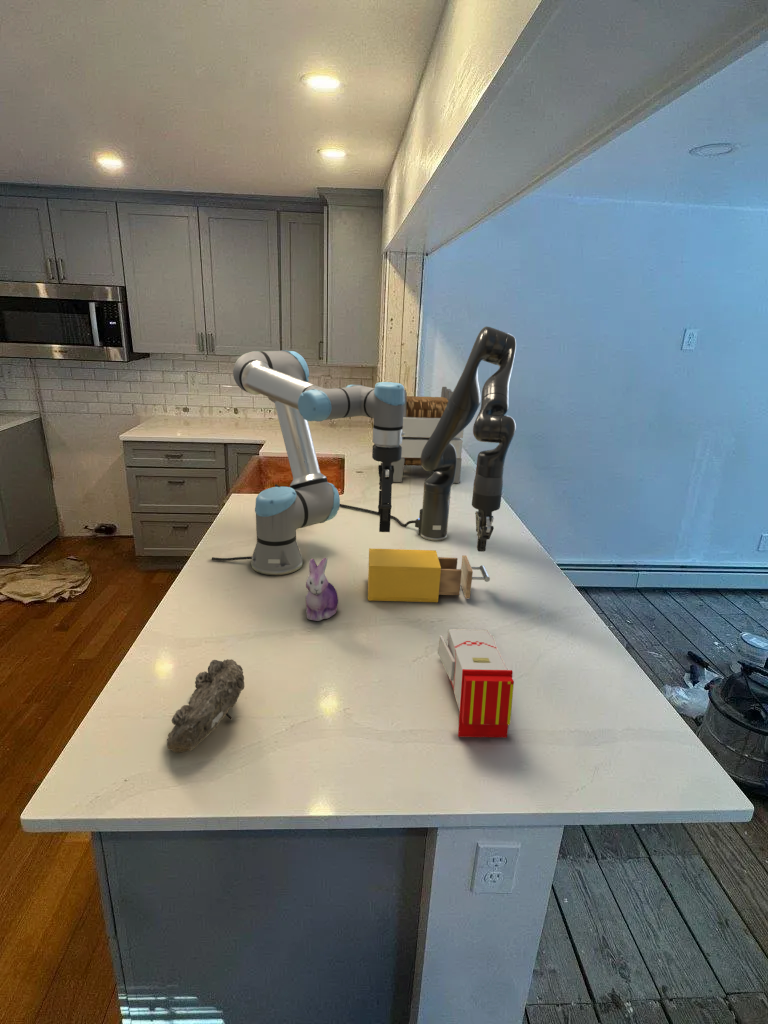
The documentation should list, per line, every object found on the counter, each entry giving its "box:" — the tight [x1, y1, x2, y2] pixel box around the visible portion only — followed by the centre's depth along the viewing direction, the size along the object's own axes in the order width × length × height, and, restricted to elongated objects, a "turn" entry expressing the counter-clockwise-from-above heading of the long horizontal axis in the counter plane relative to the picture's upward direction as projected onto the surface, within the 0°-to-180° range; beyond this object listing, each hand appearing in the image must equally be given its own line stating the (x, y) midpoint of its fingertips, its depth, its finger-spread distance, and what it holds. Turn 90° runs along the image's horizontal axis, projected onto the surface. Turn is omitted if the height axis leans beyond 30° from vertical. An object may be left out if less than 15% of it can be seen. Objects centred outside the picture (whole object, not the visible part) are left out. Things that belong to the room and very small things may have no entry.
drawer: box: [438, 554, 491, 600], centre depth 158 cm, size 23×10×8 cm, turn 92°
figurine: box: [305, 557, 339, 622], centre depth 144 cm, size 9×10×15 cm
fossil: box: [166, 658, 245, 754], centre depth 106 cm, size 22×10×15 cm
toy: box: [437, 628, 515, 738], centre depth 117 cm, size 12×13×30 cm
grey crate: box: [391, 386, 465, 484], centre depth 268 cm, size 34×33×41 cm
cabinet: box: [367, 547, 441, 603], centre depth 158 cm, size 19×12×10 cm, turn 92°
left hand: (383, 522), depth 152 cm, fingers open, 13 cm apart
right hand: (480, 550), depth 156 cm, fingers closed
